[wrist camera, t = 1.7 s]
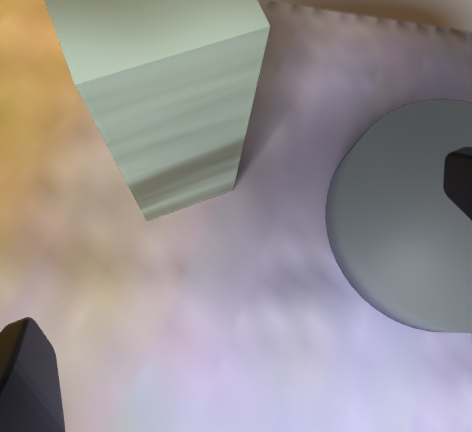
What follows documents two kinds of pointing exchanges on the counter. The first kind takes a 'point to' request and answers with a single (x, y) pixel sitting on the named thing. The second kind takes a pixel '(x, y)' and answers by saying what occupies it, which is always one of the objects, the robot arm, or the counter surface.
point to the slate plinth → (406, 218)
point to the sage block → (167, 89)
